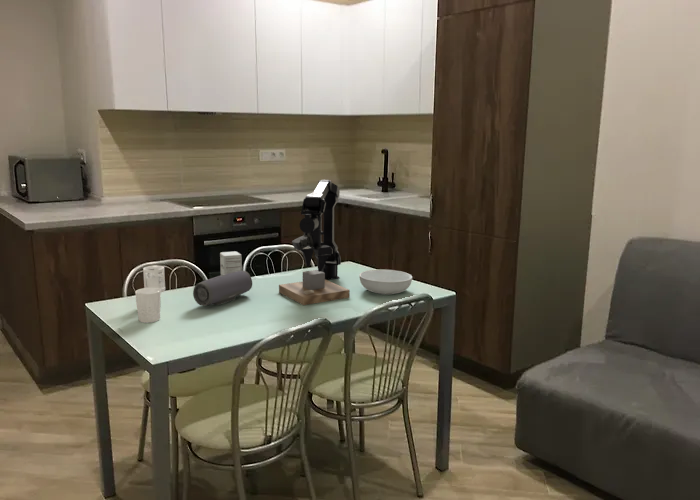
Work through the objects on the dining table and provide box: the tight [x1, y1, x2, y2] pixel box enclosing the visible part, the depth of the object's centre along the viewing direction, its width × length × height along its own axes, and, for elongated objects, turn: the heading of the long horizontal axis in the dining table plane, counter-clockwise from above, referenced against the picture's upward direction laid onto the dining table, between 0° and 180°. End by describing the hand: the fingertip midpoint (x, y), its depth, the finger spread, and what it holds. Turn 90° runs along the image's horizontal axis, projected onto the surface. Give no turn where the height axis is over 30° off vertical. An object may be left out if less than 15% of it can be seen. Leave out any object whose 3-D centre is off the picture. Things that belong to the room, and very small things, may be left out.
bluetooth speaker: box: [192, 270, 253, 307], centre depth 217 cm, size 23×9×10 cm, turn 149°
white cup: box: [134, 287, 162, 324], centre depth 195 cm, size 8×8×10 cm
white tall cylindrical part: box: [142, 264, 166, 293], centre depth 210 cm, size 7×7×15 cm
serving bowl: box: [359, 269, 413, 296], centre depth 233 cm, size 21×21×7 cm
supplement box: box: [219, 250, 243, 276], centre depth 242 cm, size 7×7×13 cm
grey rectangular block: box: [302, 269, 326, 290], centre depth 227 cm, size 6×6×8 cm
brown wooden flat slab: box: [278, 279, 351, 306], centre depth 228 cm, size 20×20×4 cm
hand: (313, 268), depth 226 cm, fingers open, 9 cm apart
